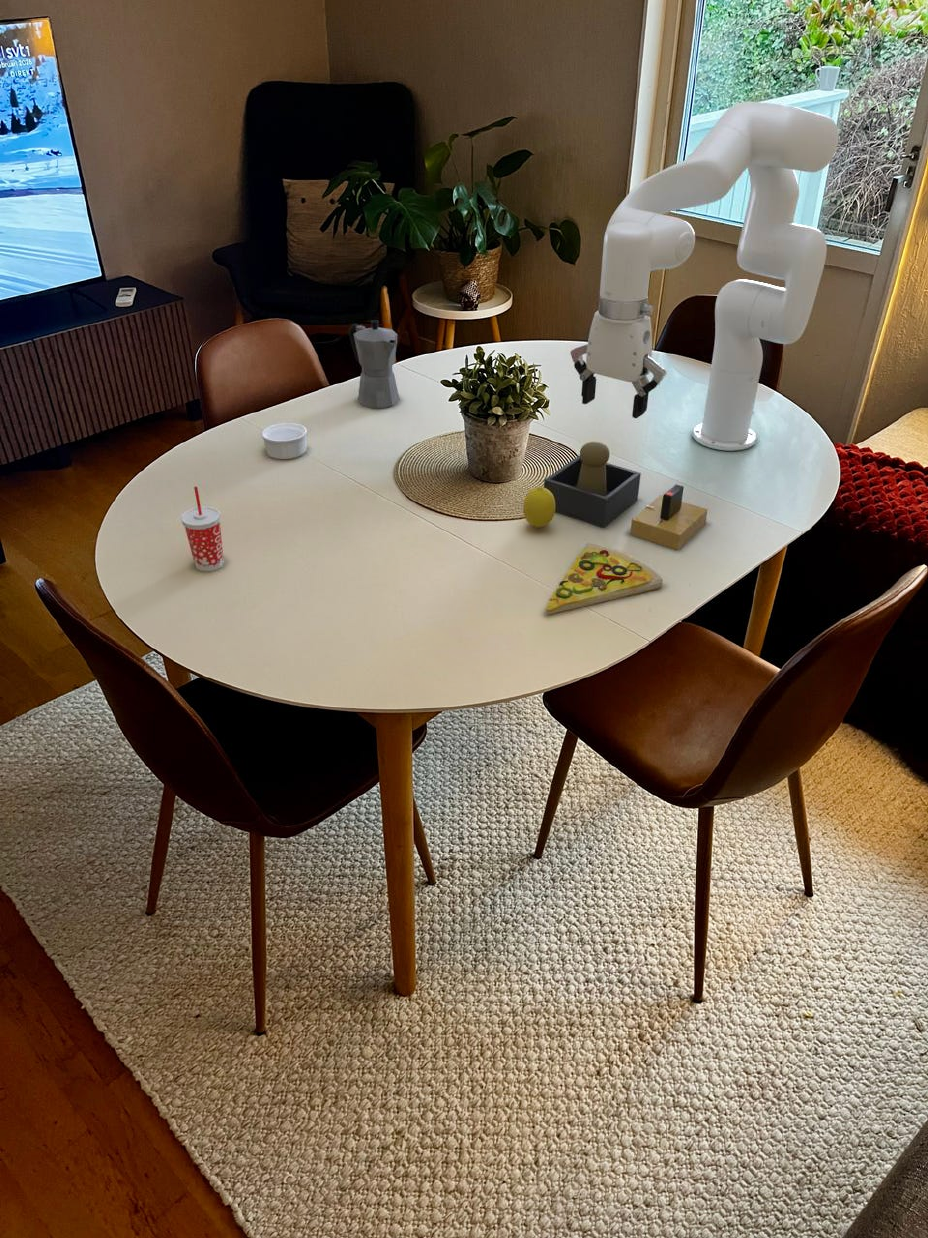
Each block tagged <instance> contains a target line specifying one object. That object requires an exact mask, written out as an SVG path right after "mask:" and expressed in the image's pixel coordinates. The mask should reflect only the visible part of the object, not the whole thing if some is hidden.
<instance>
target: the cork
mask: <svg viewBox="0 0 928 1238" xmlns="http://www.w3.org/2000/svg"><path fill="white" fill-rule="evenodd" d="M579 455H580V459H581V461H582V465H581V470H580V474H579V479H578V483H577V488H579V489H582V490H585V491H588V492H592V493H595V494H598V495H601V496H604V497H605V496H607V487H606V465H605V464H606V463H608V461H609V459H610V449H609V447H608V446H607V445H606V444H605V443H603V442H599V441H589V442H586V443H584V444H583V445H582V446H581V448H580V451H579Z"/></svg>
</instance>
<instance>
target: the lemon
mask: <svg viewBox="0 0 928 1238" xmlns="http://www.w3.org/2000/svg"><path fill="white" fill-rule="evenodd" d="M522 504H523V506H522V511H523V516H524V519H525V521H526V522H527V523H528V524H529V525H531V526H533V527H535V528H536V529H540V528H542V527H545V526H547V525H549V524H550V523H551V522H552V521H553V519H554V517H555V514H556V512H555V499H554V496H553V494H552V493H551V492H550V491H549V490H548V489H546V488H544V486H541V485H540V486H539V485H538V486H536V487H533V488H532V489H530V490H529V491H528V492H527V493H526V494H525V497H524V501H523V503H522Z"/></svg>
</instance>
